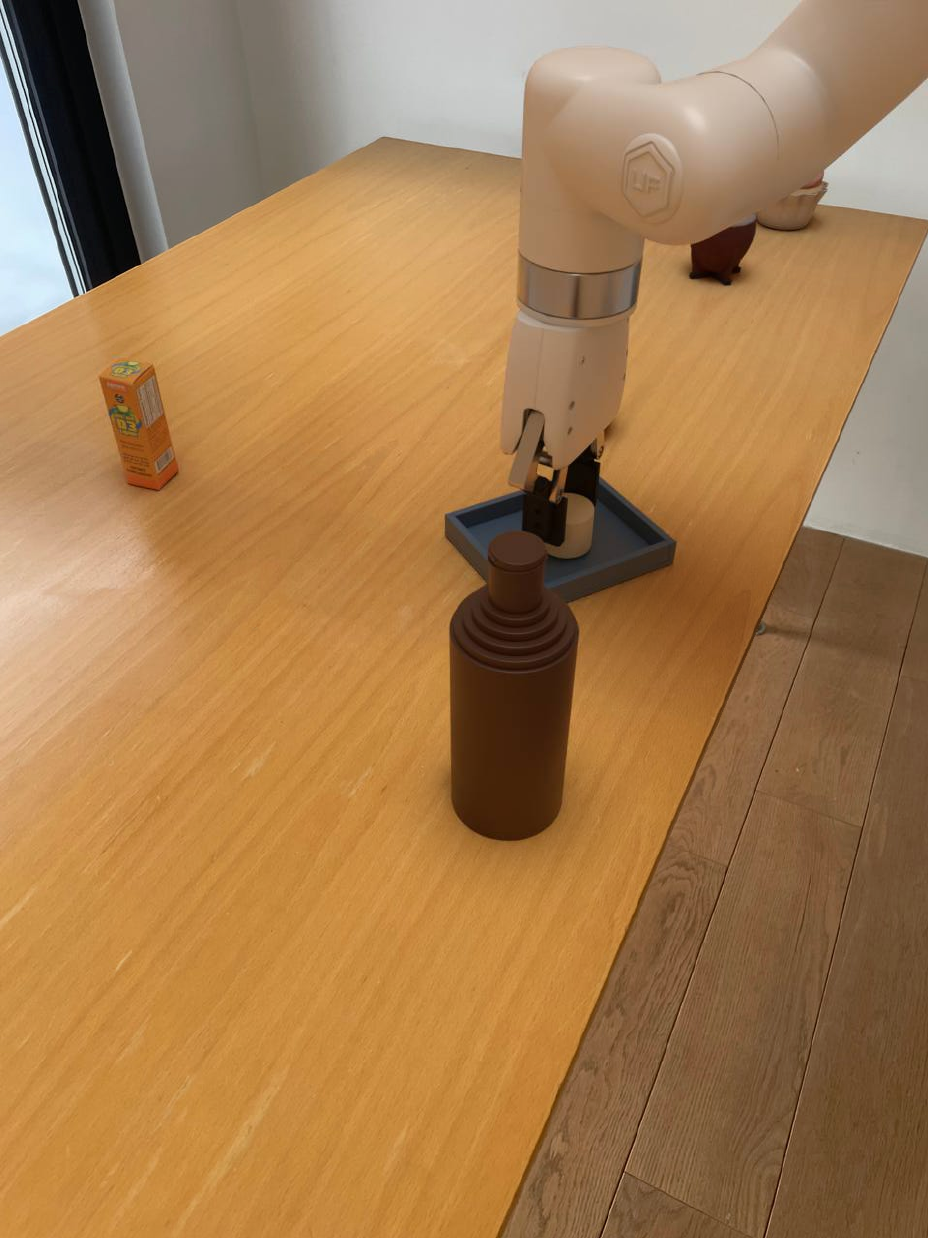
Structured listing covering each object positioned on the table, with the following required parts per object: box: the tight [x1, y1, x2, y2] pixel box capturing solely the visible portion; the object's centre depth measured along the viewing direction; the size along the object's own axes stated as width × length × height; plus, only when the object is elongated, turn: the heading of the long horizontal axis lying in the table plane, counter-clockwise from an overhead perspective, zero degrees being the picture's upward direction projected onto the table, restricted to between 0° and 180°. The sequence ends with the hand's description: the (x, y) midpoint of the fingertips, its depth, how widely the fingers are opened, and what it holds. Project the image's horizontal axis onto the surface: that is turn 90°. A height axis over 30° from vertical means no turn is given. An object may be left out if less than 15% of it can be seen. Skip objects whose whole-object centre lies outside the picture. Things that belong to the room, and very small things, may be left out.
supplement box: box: [98, 357, 179, 491], centre depth 80 cm, size 3×3×10 cm
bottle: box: [448, 531, 580, 841], centre depth 52 cm, size 6×6×18 cm
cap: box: [545, 493, 594, 559], centre depth 74 cm, size 4×4×3 cm
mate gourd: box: [688, 212, 757, 286], centre depth 109 cm, size 8×8×15 cm
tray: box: [444, 475, 678, 604], centre depth 75 cm, size 13×11×2 cm
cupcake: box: [755, 170, 830, 231], centre depth 123 cm, size 9×9×10 cm
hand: (559, 518), depth 74 cm, fingers open, 4 cm apart
